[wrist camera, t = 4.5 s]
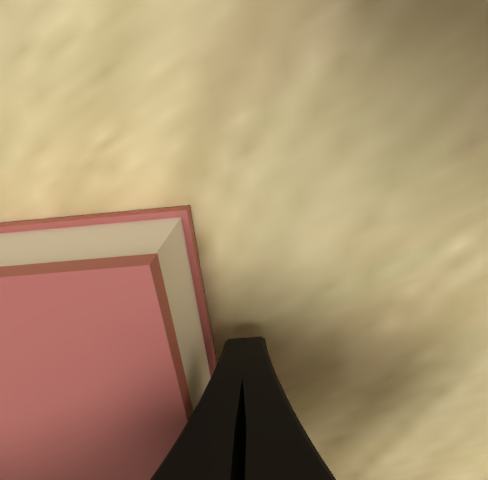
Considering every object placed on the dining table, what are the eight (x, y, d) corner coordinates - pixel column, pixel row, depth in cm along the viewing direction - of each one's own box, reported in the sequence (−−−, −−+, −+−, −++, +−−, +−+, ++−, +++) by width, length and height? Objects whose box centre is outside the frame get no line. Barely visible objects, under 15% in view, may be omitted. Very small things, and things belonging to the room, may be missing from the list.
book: (227, 428, 13) (219, 555, 9) (71, 437, 13) (1, 563, 9) (189, 205, 9) (149, 265, 5) (-29, 225, 9) (-211, 295, 6)
